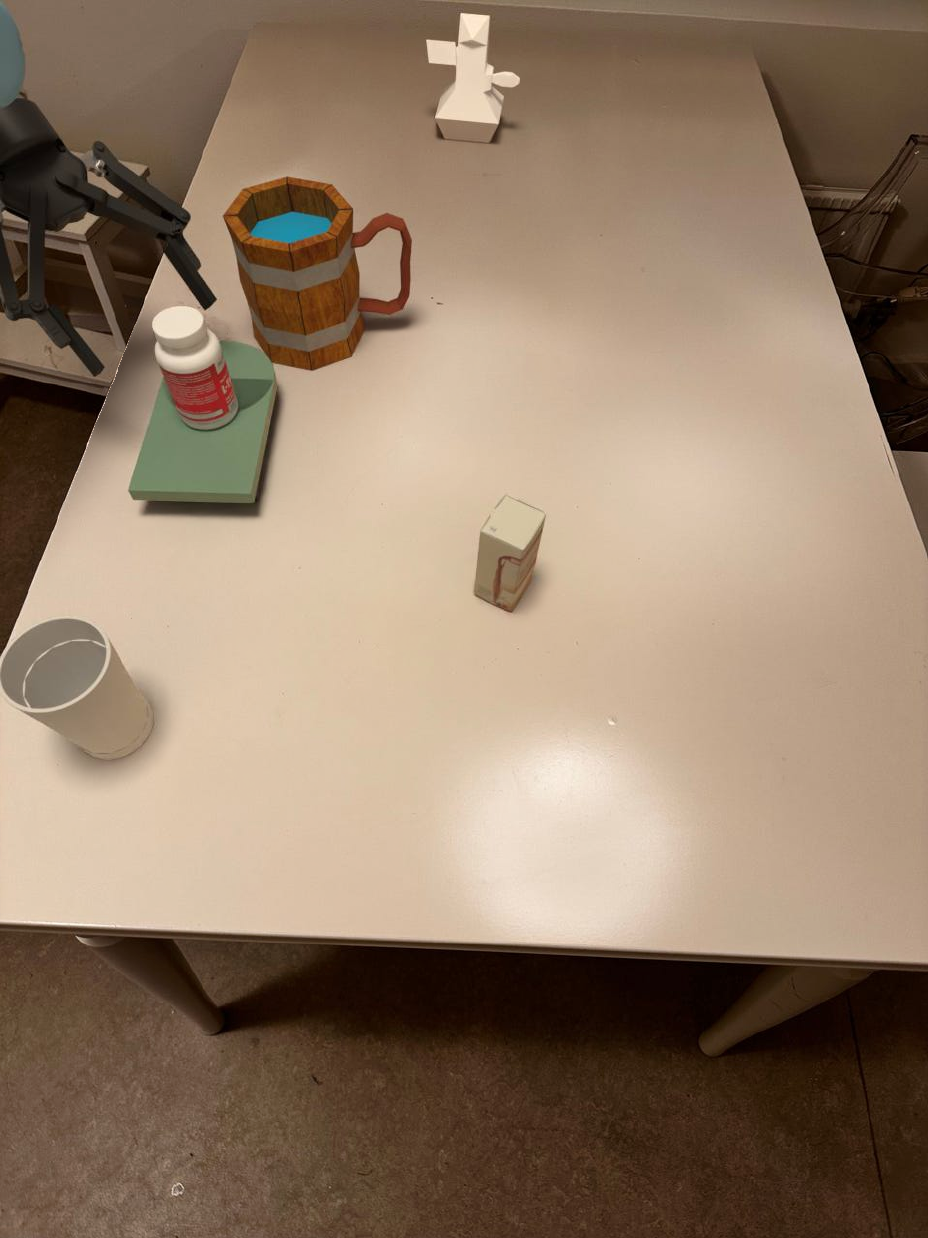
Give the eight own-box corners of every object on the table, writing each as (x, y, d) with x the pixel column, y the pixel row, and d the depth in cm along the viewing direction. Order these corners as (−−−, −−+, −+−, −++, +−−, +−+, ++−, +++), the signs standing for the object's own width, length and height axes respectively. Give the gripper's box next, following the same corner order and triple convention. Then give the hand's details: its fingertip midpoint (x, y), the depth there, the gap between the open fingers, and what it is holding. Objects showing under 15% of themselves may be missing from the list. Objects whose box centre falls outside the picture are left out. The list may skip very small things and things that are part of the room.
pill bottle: (244, 424, 77) (216, 336, 67) (184, 438, 76) (147, 349, 66) (233, 384, 80) (205, 294, 70) (176, 396, 79) (139, 306, 69)
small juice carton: (512, 614, 71) (522, 553, 62) (472, 594, 72) (476, 531, 63) (536, 575, 73) (549, 511, 65) (497, 556, 74) (504, 491, 66)
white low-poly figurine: (512, 148, 113) (521, 42, 101) (421, 140, 113) (419, 33, 101) (517, 120, 117) (526, 15, 105) (429, 111, 117) (428, 6, 106)
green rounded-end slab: (259, 518, 76) (250, 493, 72) (141, 515, 76) (127, 490, 72) (288, 370, 87) (281, 342, 84) (185, 367, 87) (174, 339, 83)
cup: (178, 736, 64) (127, 675, 53) (87, 787, 61) (15, 733, 51) (142, 667, 67) (87, 597, 57) (54, 713, 65) (-19, 648, 54)
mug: (253, 374, 86) (220, 255, 74) (254, 300, 93) (223, 179, 80) (420, 362, 88) (417, 244, 75) (409, 290, 95) (404, 170, 82)
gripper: (107, 92, 74) (242, 290, 82) (-136, 196, 64) (44, 410, 72) (120, 47, 68) (264, 267, 76) (-148, 155, 58) (51, 394, 66)
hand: (157, 337), depth 74 cm, fingers open, 13 cm apart
